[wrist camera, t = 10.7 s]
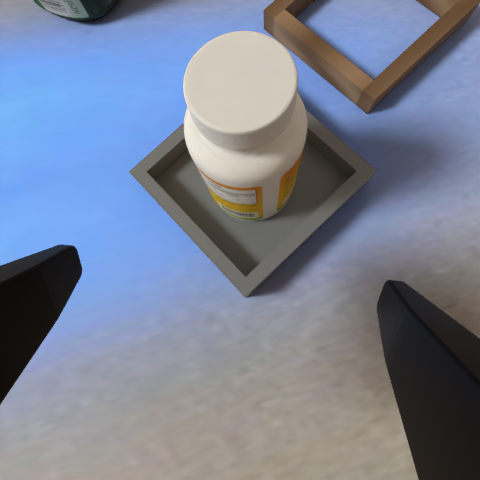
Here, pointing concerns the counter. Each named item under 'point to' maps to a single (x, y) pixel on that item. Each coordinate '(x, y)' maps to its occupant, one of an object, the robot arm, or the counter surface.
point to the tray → (263, 231)
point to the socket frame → (345, 72)
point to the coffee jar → (77, 8)
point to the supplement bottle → (245, 122)
